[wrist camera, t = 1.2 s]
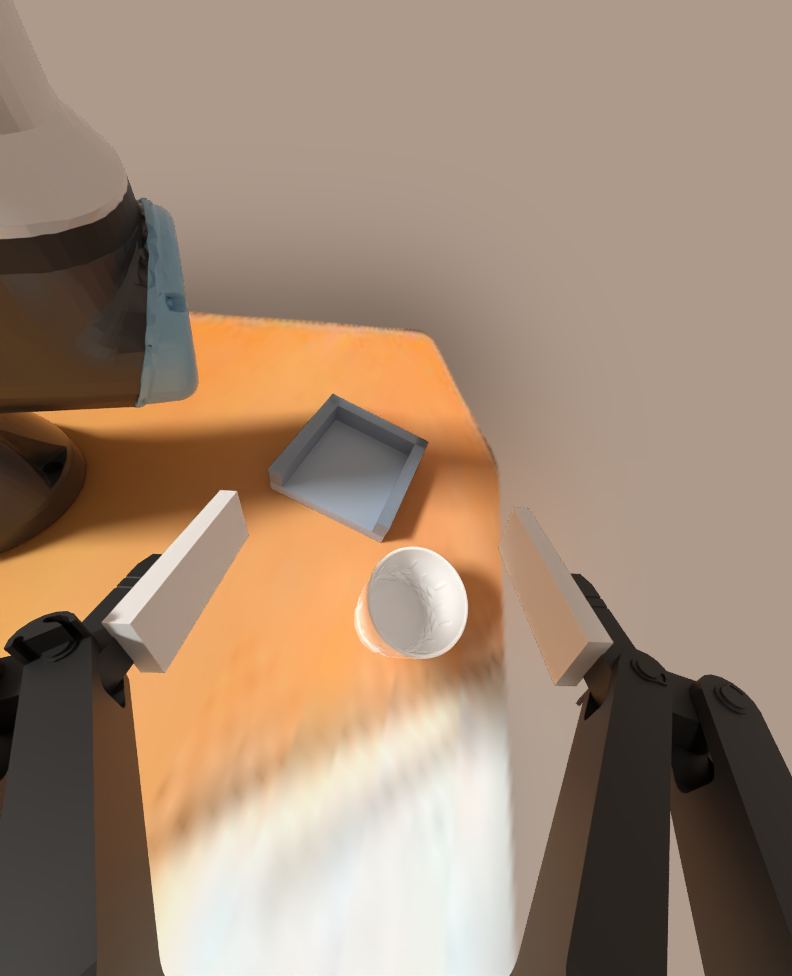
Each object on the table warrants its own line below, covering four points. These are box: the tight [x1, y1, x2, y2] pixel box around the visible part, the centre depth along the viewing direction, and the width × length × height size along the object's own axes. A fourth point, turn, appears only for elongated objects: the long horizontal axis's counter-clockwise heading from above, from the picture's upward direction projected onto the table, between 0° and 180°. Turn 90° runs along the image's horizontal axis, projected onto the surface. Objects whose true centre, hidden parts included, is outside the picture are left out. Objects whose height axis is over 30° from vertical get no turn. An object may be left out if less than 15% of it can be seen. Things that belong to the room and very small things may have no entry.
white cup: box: [354, 547, 468, 659], centre depth 26 cm, size 8×8×10 cm
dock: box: [268, 394, 428, 543], centre depth 36 cm, size 14×14×4 cm
